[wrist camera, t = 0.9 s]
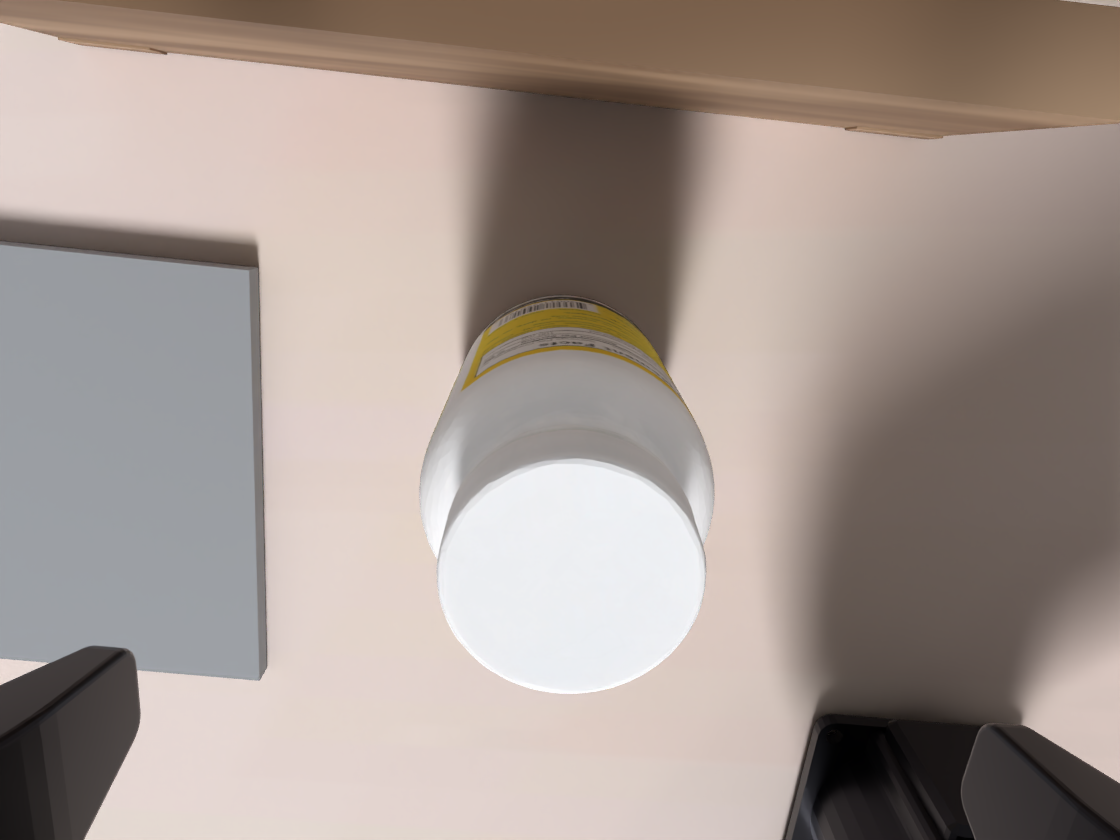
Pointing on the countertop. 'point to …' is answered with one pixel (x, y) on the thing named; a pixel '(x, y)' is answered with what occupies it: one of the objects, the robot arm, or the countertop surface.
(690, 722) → the countertop surface
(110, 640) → the mat
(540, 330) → the supplement bottle
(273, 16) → the screen
